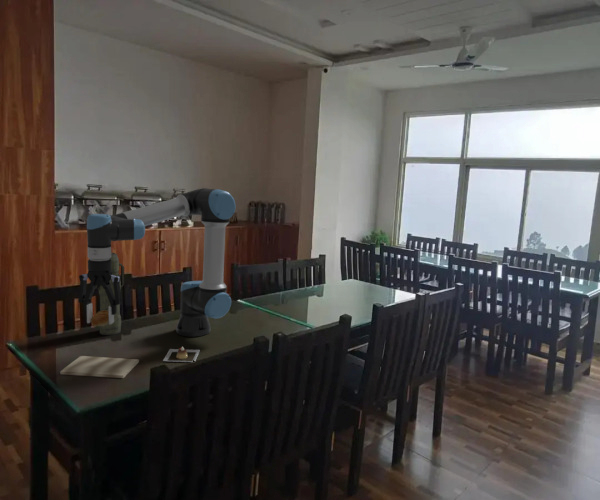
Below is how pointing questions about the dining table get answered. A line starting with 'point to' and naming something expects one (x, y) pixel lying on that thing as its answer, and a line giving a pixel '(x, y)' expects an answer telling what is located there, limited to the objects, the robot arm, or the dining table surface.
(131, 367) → the serving board
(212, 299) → the robot arm
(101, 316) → the pastry
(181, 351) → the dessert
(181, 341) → the dining table surface
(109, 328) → the thermos
